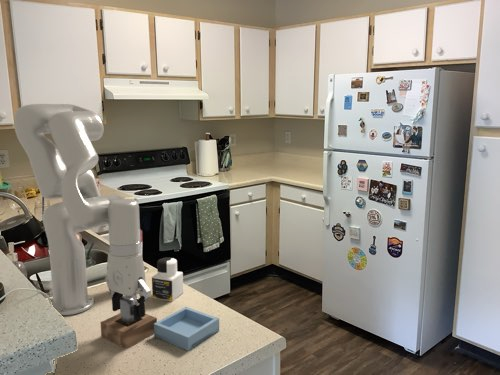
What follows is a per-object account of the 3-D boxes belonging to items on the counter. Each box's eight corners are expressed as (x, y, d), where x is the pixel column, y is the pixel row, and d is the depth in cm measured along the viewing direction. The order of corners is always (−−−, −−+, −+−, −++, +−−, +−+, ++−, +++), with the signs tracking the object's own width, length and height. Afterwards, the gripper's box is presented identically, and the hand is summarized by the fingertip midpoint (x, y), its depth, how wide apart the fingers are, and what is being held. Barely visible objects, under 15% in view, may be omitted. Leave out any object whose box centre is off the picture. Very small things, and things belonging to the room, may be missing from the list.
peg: (118, 335, 116) (116, 299, 114) (130, 329, 119) (128, 293, 117) (128, 339, 113) (126, 303, 112) (140, 333, 117) (139, 297, 115)
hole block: (101, 336, 115) (100, 322, 114) (131, 321, 123) (131, 308, 122) (127, 348, 109) (126, 333, 109) (157, 331, 117) (156, 317, 117)
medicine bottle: (152, 298, 138) (150, 261, 135) (164, 289, 144) (162, 254, 142) (172, 302, 135) (171, 264, 133) (183, 292, 142) (182, 257, 140)
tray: (154, 336, 115) (153, 323, 115) (185, 318, 125) (185, 306, 124) (188, 350, 108) (188, 337, 108) (219, 330, 118) (219, 318, 118)
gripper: (91, 245, 114) (95, 310, 117) (137, 259, 104) (140, 329, 107) (115, 238, 120) (118, 300, 123) (160, 250, 110) (163, 317, 113)
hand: (128, 313), depth 115 cm, fingers open, 7 cm apart
